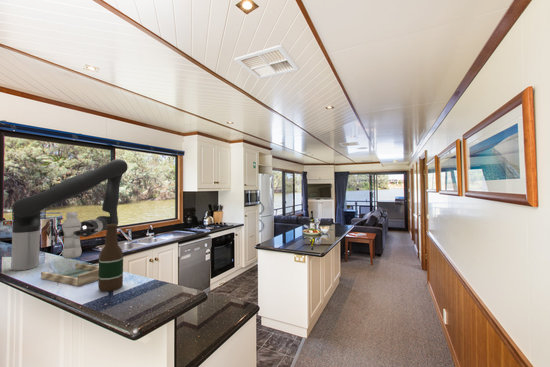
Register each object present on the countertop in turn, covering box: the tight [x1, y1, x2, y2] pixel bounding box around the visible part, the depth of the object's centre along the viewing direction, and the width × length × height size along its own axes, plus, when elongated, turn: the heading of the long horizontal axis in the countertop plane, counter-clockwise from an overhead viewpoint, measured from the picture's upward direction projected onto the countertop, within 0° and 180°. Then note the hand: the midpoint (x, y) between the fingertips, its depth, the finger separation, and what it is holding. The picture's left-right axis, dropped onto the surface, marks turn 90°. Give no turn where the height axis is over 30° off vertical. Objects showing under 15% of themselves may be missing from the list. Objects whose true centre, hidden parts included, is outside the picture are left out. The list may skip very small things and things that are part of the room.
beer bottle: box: [97, 224, 124, 293], centre depth 94 cm, size 8×8×24 cm
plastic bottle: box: [61, 211, 83, 260], centre depth 108 cm, size 6×7×20 cm
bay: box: [40, 262, 99, 287], centre depth 106 cm, size 24×14×4 cm, turn 70°
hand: (68, 233), depth 106 cm, fingers closed on plastic bottle, 6 cm apart
